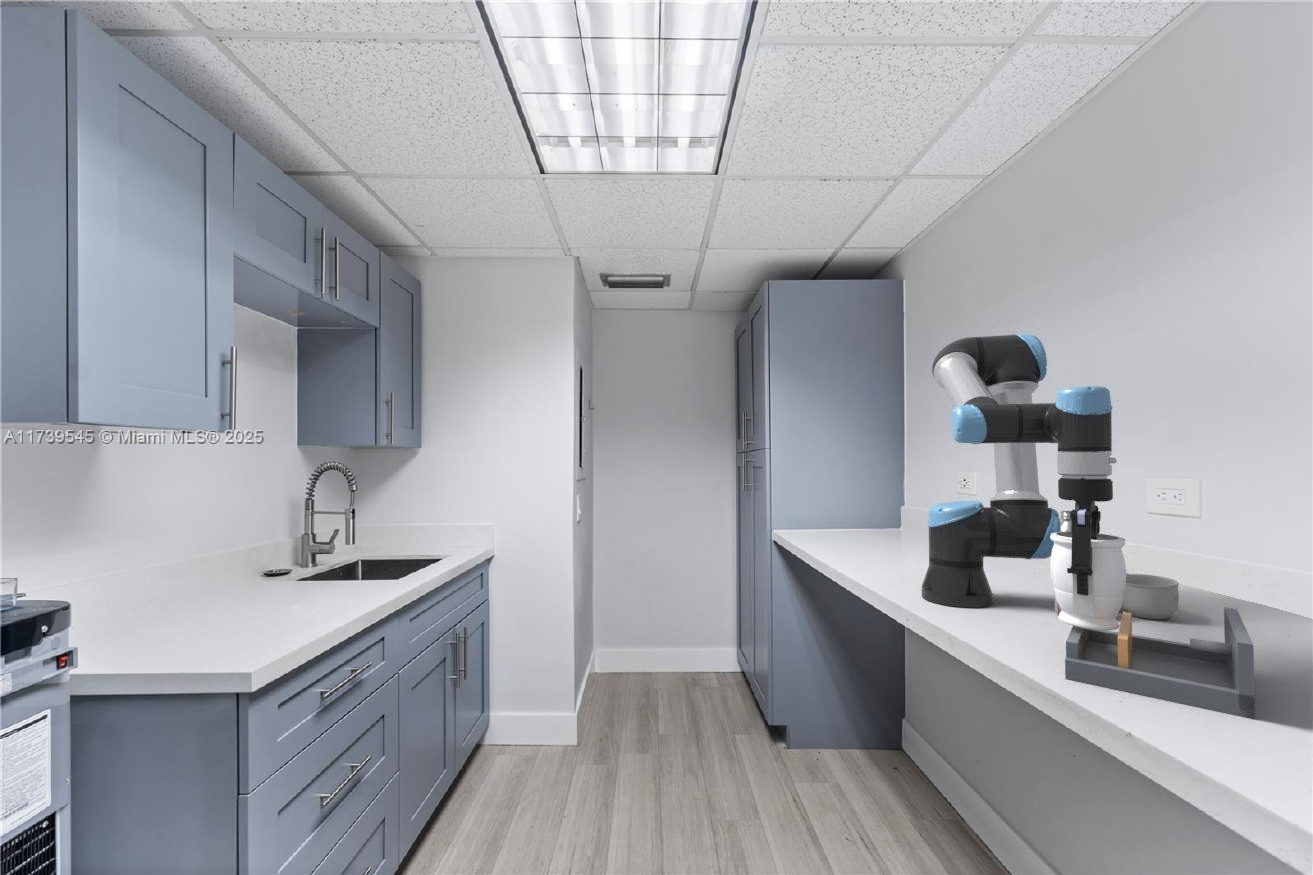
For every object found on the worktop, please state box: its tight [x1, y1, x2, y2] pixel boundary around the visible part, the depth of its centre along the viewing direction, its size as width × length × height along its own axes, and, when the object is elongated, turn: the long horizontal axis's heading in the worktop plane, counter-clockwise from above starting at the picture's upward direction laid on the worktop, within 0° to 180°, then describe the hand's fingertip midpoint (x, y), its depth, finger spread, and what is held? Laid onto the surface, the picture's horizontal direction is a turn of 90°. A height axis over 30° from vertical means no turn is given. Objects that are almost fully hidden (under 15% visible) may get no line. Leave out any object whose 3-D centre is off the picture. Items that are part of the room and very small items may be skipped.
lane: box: [1064, 606, 1256, 720], centre depth 93 cm, size 21×22×10 cm
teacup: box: [1121, 572, 1180, 620], centre depth 126 cm, size 14×11×8 cm
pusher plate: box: [1117, 611, 1133, 669], centre depth 95 cm, size 1×18×6 cm, turn 139°
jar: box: [1049, 532, 1127, 631], centre depth 99 cm, size 11×10×15 cm
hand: (1087, 606), depth 99 cm, fingers closed on jar, 10 cm apart
